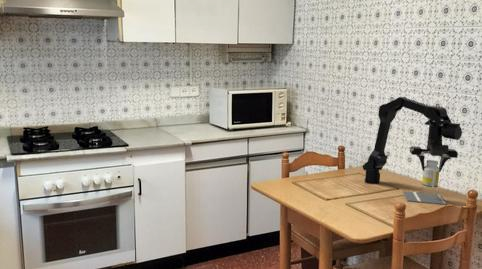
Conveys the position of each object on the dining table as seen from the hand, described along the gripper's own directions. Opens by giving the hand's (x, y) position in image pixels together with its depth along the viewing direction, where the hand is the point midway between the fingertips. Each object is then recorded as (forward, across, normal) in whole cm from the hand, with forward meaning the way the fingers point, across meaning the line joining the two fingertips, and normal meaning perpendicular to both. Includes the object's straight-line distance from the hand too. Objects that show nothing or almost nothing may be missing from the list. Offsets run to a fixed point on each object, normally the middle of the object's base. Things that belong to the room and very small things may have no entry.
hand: (431, 171), depth 205 cm
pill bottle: (+7, 0, 0) cm, 7 cm away
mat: (+13, -2, 0) cm, 13 cm away
